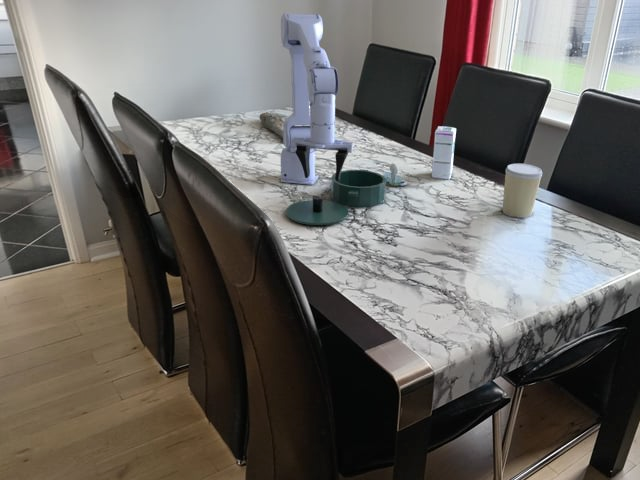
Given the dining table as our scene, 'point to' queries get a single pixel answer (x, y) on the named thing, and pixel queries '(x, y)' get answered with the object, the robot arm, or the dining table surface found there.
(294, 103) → the robot arm
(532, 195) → the coffee cup
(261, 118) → the elongated rock
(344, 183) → the pot
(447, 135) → the syrup box
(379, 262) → the dining table surface
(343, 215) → the lid
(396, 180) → the pacifier
